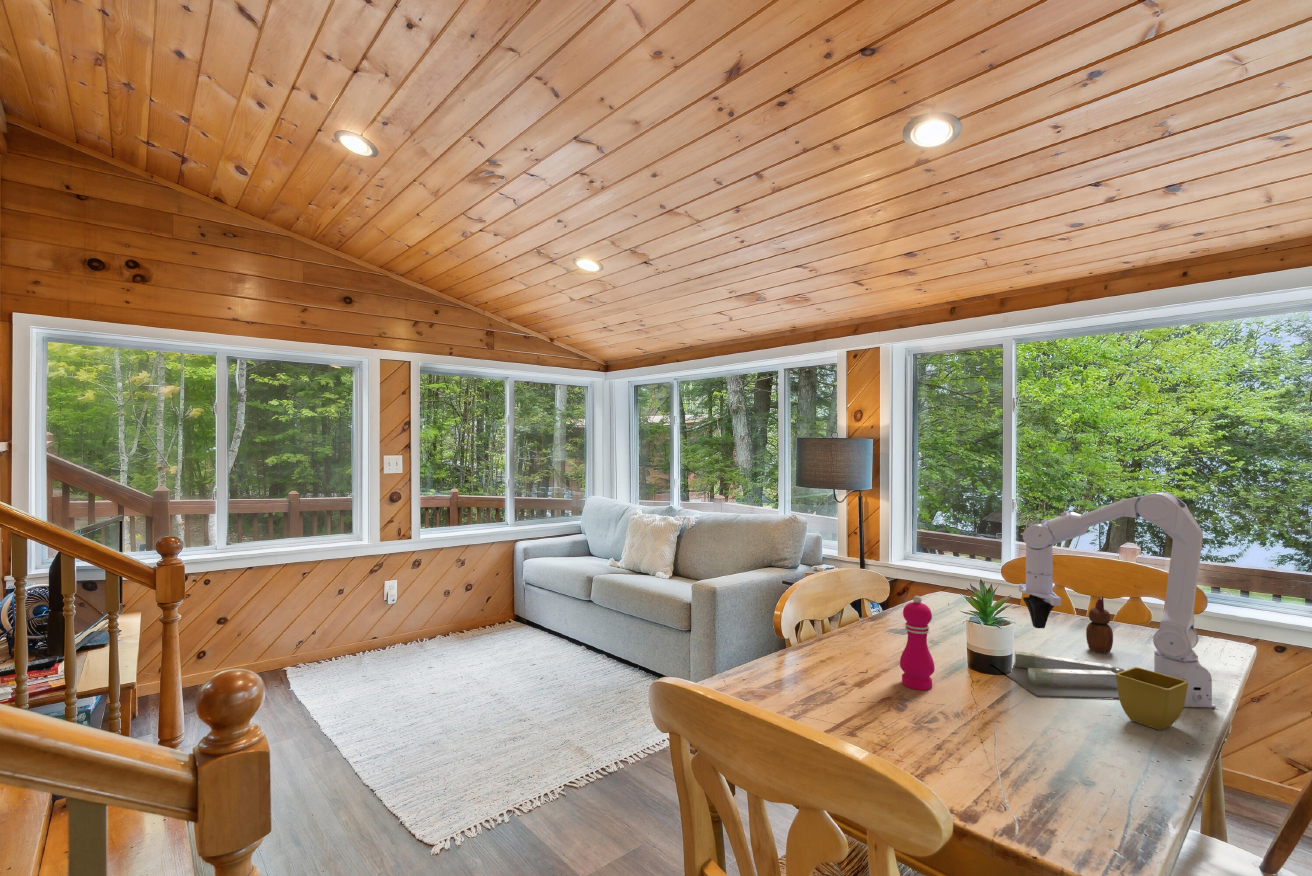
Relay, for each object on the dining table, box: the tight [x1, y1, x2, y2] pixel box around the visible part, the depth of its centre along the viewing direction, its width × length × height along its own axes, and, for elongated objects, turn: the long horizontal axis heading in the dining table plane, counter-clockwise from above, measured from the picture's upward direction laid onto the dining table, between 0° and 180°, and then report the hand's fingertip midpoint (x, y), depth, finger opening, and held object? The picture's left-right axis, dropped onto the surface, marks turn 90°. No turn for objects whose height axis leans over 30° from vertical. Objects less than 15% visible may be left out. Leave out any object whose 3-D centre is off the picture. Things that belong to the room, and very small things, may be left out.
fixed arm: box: [1028, 668, 1117, 688], centre depth 137 cm, size 18×2×3 cm, turn 88°
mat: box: [1006, 662, 1119, 700], centre depth 140 cm, size 20×27×1 cm
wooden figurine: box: [1085, 595, 1114, 654], centre depth 162 cm, size 7×6×15 cm
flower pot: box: [1116, 666, 1188, 731], centre depth 119 cm, size 9×9×9 cm
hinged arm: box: [1014, 650, 1125, 674], centre depth 143 cm, size 21×4×3 cm, turn 63°
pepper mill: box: [899, 595, 935, 691], centre depth 137 cm, size 7×7×20 cm
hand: (1038, 627), depth 152 cm, fingers closed
